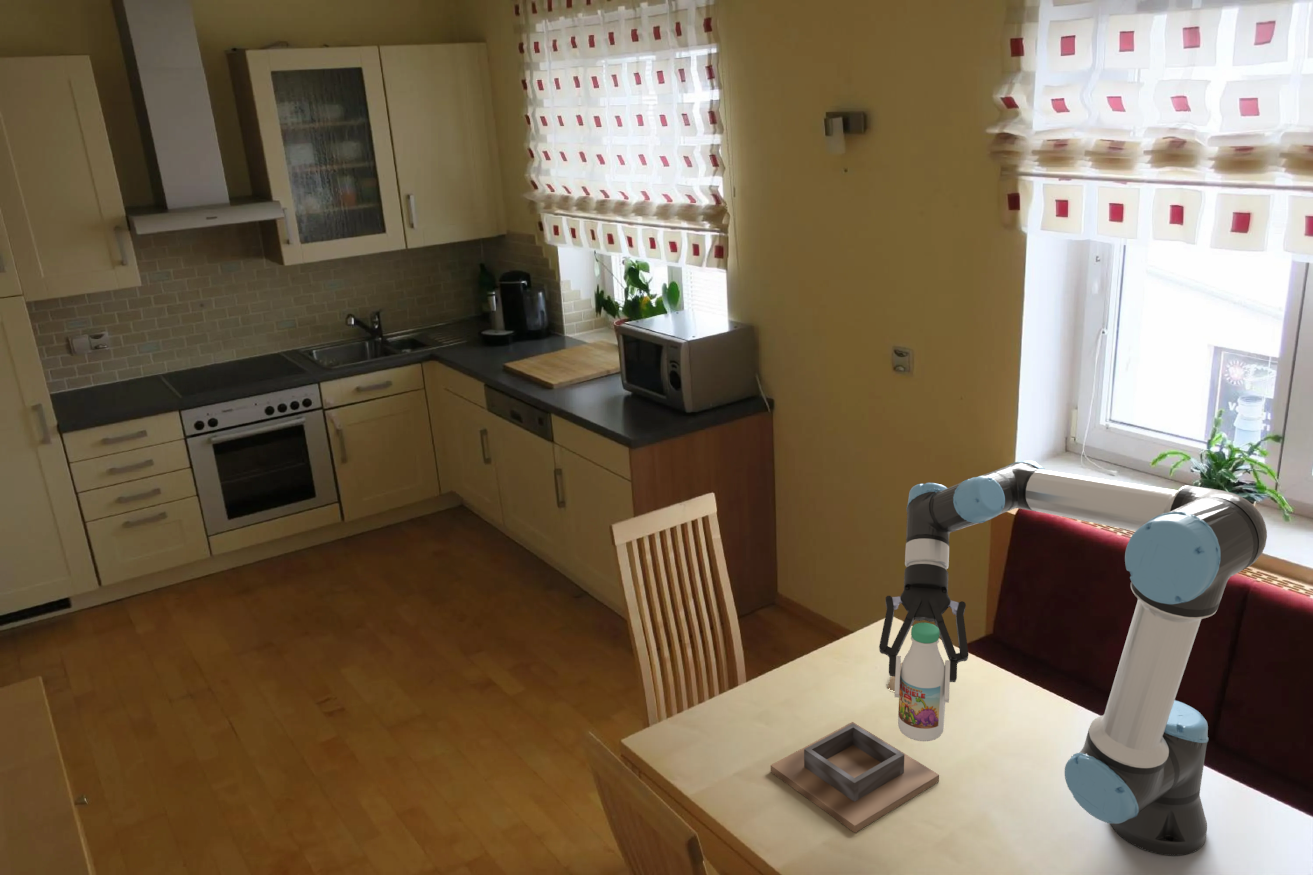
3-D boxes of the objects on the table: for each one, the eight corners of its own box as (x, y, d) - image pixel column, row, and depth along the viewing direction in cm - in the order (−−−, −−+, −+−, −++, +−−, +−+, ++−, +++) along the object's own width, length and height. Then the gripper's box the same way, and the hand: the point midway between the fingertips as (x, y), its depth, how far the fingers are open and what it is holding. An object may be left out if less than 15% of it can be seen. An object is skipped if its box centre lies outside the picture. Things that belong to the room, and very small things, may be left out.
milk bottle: (910, 711, 183) (914, 612, 176) (950, 726, 178) (957, 625, 172) (889, 732, 177) (893, 631, 171) (931, 748, 173) (937, 644, 166)
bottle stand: (938, 781, 189) (939, 756, 188) (854, 832, 177) (855, 806, 176) (852, 727, 206) (852, 704, 205) (770, 771, 195) (770, 747, 193)
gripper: (984, 579, 182) (983, 709, 172) (868, 571, 187) (861, 696, 178) (987, 565, 175) (986, 699, 166) (867, 557, 180) (859, 687, 171)
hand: (921, 697), depth 172 cm, fingers closed on milk bottle, 7 cm apart
